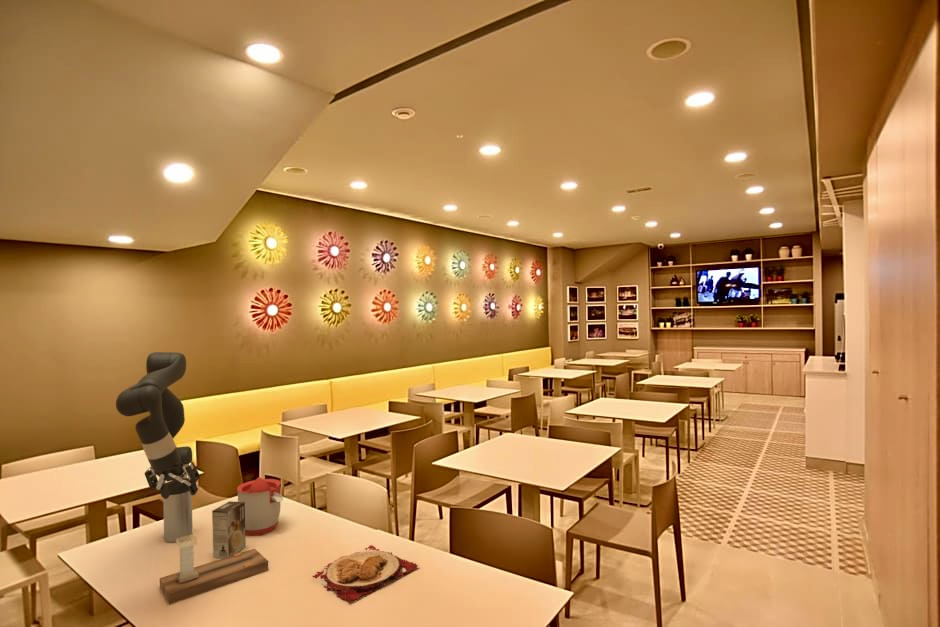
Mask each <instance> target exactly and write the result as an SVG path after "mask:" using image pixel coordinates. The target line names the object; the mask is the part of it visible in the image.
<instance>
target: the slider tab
mask: <svg viewBox="0 0 940 627" xmlns="http://www.w3.org/2000/svg"><path fill="white" fill-rule="evenodd" d="M197 541H198V540H197V537H196V536H195V535H194V534H193V533H192V534H191V535H187V536H184V537H180V538H176V542H175V543H176V546H178V548H179V571H178V572H179V573H178V572H175V573H176V578H177V580H178V582H179V583H182V582H186V581H189V580H192V579H195V578H198V573H197V571H196V570H195V569H194V567H195V566H194V563H195V560H194V545H197V543H198V542H197Z"/></svg>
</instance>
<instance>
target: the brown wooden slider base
mask: <svg viewBox="0 0 940 627" xmlns="http://www.w3.org/2000/svg"><path fill="white" fill-rule="evenodd" d="M194 569H195V570H196V571H197V573H198V578H195V579H192V580H189V581H186V582H182V583H179V582H178V580H177V578H176V573H179V572H180V571H178V572H174V573H171V574H169V575H166V576H163V577H160V578H159V589H160V591H161V593H162V594H163V597H164V598H165V601H166V602H167V603H168V605H172V604H175V603H177V602H178V603H179V602H180V601H183V600H186V599H189V598H192V597H195V596H198V595H201V594H204V593H207V592H209V591H212V590H215V589H218V588H220V587H223V586H227V585H229V584H232V583H235V582H238V581H241V580H244V579H247V578H250V577H253V576H256V575H258V574H261V573H264V572H268V571H269V560H268V559H267V558H266V557H264V555H262V554H261V552H259V551H258V550H257V548H252V549H248V550H245V551H242V552H238V553H236V554H233V555H232V556H229V557H226V558H218V559H217V560H214V561H213V560H212V561H210V562H207V563H204V564H203V563H202V564H201V565H198V566H194Z"/></svg>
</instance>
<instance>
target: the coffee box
mask: <svg viewBox="0 0 940 627" xmlns="http://www.w3.org/2000/svg"><path fill="white" fill-rule="evenodd" d="M211 513H212V514H211V516H212V517H211V518H212V554H213V556H212V557H213V558H216V559H217V558H218V559H223V558H226V557H229V556H232V555H233V554H237V553H240V551H242V550H243V549H245V548H246V546H247V545H246V534H245V502H238V501H231V500H230V501H227V502H226V503H224V504H222V505H220V506H218V507H217V508H215V509H213V510H212V511H211Z"/></svg>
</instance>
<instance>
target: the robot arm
mask: <svg viewBox="0 0 940 627" xmlns="http://www.w3.org/2000/svg"><path fill="white" fill-rule="evenodd" d="M145 367H146V370H145V371H146V374H145V375H144V376H143V377H141V379H140V380H139V381H138V382H137V383H135V384H133V385H131V386H129V387H128V388H125V389H124V390H123V391H121V392H120V393H119V394H118V396H117V397H116V401H115V408H116V410H117V412H118V413H119V414H120V415H122V416H124V417H133V416H137V415H140V414H144V413H148V412H149V415H147V416H146V417H143V418H141V419H140V420H139V421H137V422H136V424H135V431H136V433H137V435H138V436H137V437H138V438H139V440H140V443H141V445H142V449H143V452H144V454H145V456H146V458H147V461H148V463H149V465H150V467H148V468H147V470H146V471H145V472H144V475H145V476H144V477H145V478H146V482H147V484H148V486H149V489H151V490H153V489H156V490H158V492H159V493H160V495H161V497H162V499H163V500H162V501H163V541H164V542H166V543H177V542H176V538H180V537H184V536H187V535H191V534H193V496H195V495H196V494H197V493H198V490H199V488H198V485H197V482H198V480H199V479H200V478H201V475H200V473H199V471H198V469H197V467H196V464H195V463H194V462H193V450H192V448H191V446H178V447H177V445H176V442H175V440H174V438H175V437H176V436H177V435H178V434H179V432H180V431H181V429H182V428H183V426H184V425H185V421H186V418H185V409H184V404H183V402H182V401H181V399H180V398H178V397H177V395H175V394H174V393H173V392H172V391H171V390H170V389H169V387H170V386H172V385H173V384H175V383H176V382H178V381H179V380H181V379H182V378H183V377H184V376H185V374H186V371H187V370H186V369H187V359H186V356H185V355H184V354H183V353H180V352H173V351H171V352H170V351H168V352H167V351H166V352H165V351H163V352H162V351H157V352H151V353H149V354H148V356H147V358H146V366H145ZM157 477H159V478H157Z"/></svg>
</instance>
